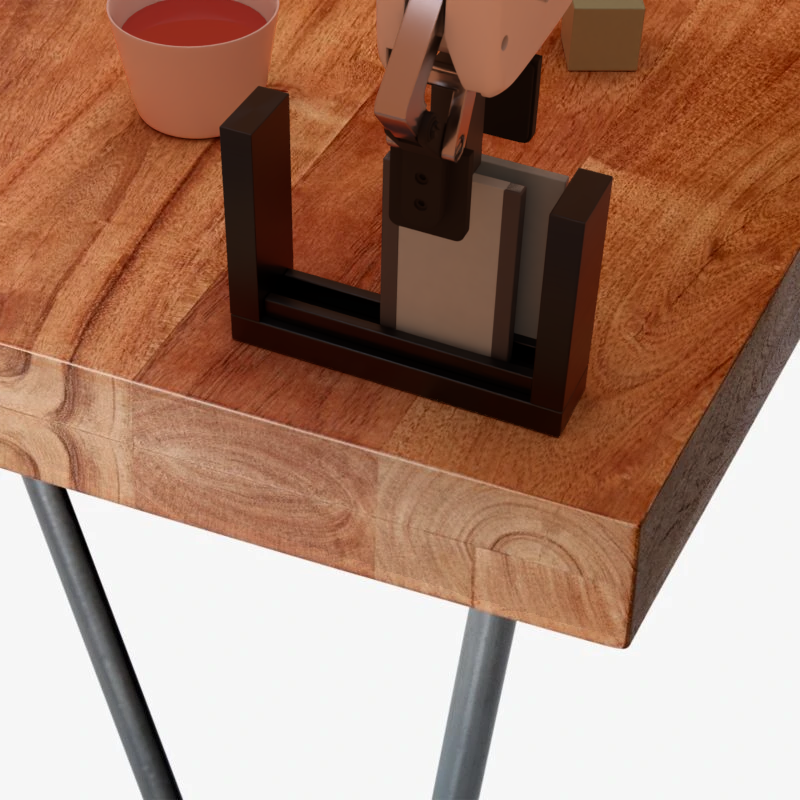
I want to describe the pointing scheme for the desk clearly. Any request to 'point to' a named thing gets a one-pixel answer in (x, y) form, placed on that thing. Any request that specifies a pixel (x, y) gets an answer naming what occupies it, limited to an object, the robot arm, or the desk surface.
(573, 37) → the block
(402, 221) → the robot arm
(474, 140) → the sash
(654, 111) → the desk surface
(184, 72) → the candle
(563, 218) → the window frame
